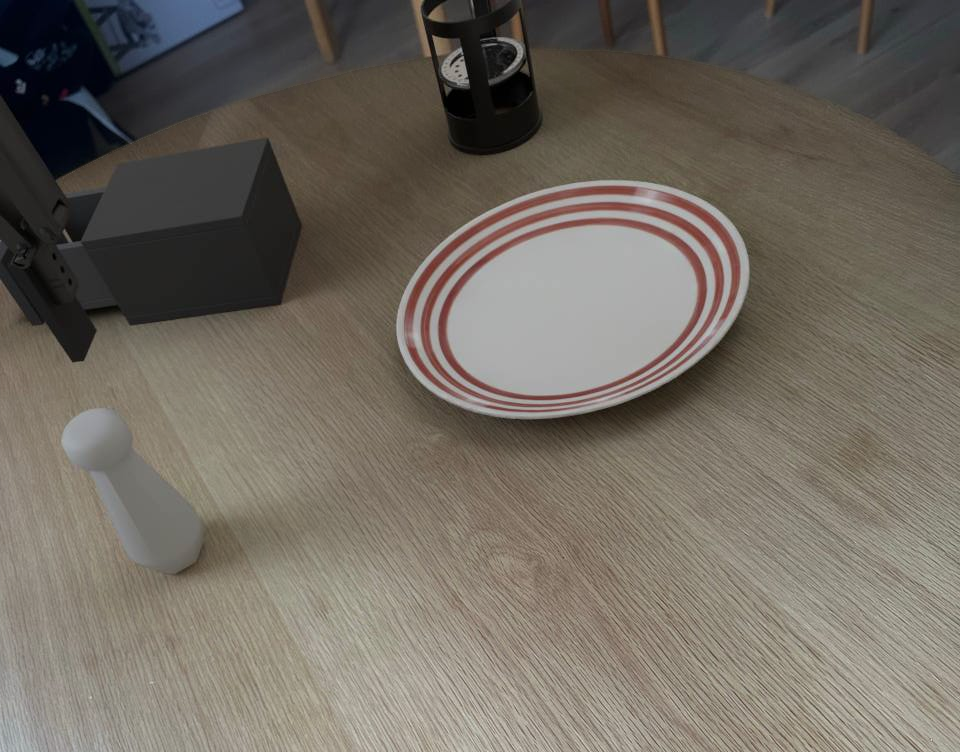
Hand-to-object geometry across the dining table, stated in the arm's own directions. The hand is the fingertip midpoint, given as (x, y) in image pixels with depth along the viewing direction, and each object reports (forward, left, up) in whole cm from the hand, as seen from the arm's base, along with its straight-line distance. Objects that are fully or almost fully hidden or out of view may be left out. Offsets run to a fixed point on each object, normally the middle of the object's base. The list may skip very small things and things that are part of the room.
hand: (35, 352), depth 60 cm
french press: (+21, +52, -19) cm, 59 cm away
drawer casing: (-5, +34, -19) cm, 39 cm away
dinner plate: (+29, +21, -19) cm, 41 cm away
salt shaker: (0, 0, -19) cm, 19 cm away
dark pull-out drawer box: (-18, +34, -18) cm, 42 cm away
